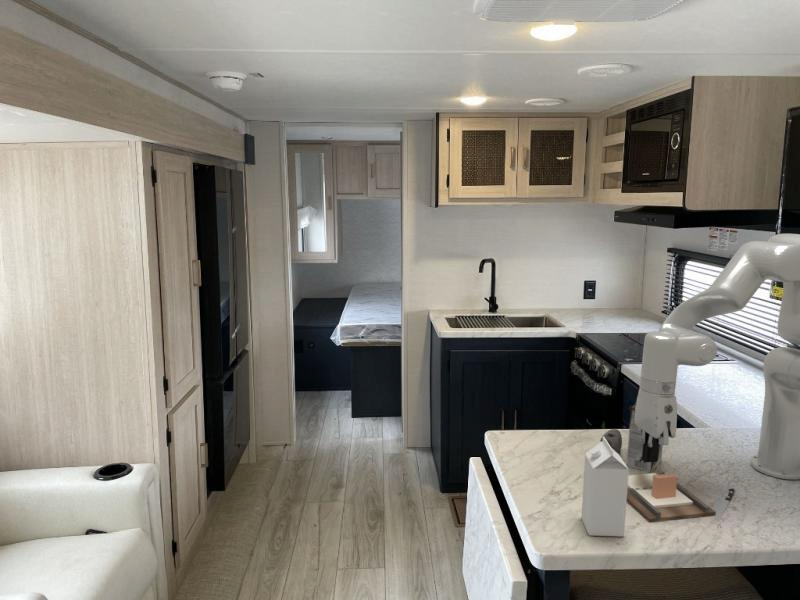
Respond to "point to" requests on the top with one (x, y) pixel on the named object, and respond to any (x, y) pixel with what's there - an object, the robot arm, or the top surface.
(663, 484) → the ticket stub
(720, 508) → the chef's knife
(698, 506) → the ticket board
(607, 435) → the perforated stone tool
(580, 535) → the top surface
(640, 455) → the coffee box
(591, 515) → the milk carton
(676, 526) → the top surface
